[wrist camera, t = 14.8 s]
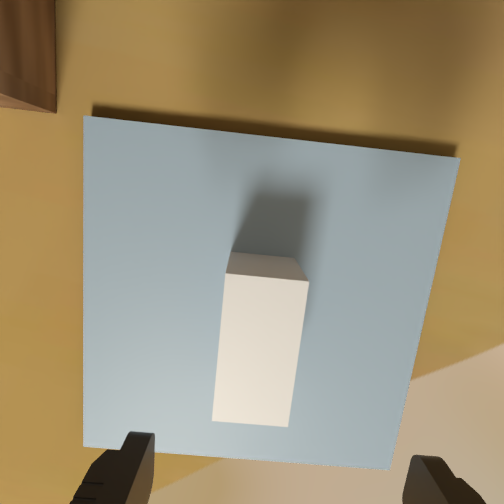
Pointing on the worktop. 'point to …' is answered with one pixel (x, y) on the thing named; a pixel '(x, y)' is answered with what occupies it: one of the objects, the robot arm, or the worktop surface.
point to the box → (28, 55)
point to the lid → (254, 291)
